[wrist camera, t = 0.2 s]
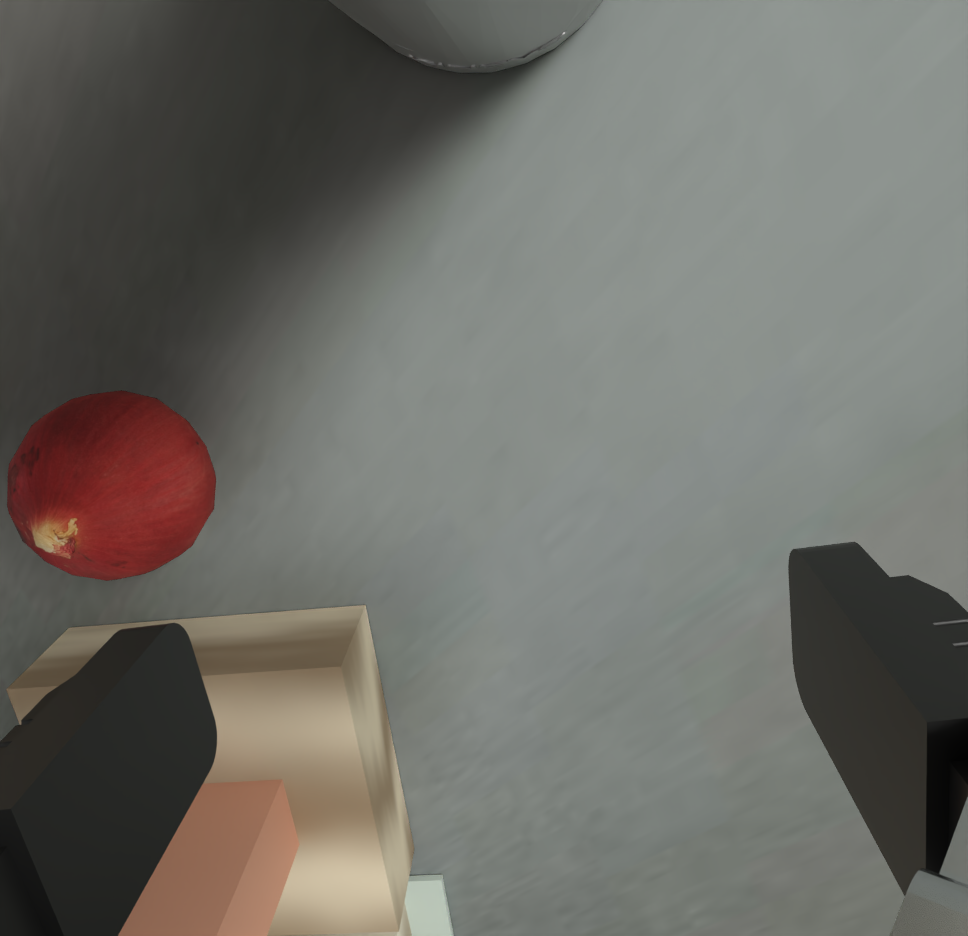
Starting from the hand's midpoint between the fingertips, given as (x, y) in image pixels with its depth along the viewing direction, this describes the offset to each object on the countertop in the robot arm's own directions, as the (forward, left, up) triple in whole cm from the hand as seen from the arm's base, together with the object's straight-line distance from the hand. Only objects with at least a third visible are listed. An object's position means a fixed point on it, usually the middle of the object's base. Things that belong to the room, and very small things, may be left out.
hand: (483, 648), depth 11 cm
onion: (+2, -13, -18) cm, 22 cm away
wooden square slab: (+15, -13, -17) cm, 26 cm away
